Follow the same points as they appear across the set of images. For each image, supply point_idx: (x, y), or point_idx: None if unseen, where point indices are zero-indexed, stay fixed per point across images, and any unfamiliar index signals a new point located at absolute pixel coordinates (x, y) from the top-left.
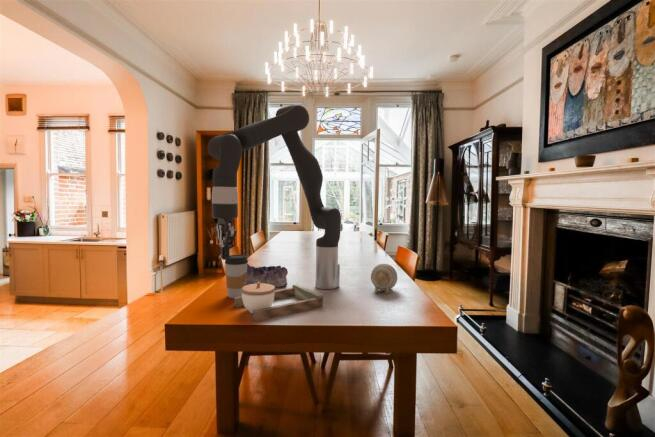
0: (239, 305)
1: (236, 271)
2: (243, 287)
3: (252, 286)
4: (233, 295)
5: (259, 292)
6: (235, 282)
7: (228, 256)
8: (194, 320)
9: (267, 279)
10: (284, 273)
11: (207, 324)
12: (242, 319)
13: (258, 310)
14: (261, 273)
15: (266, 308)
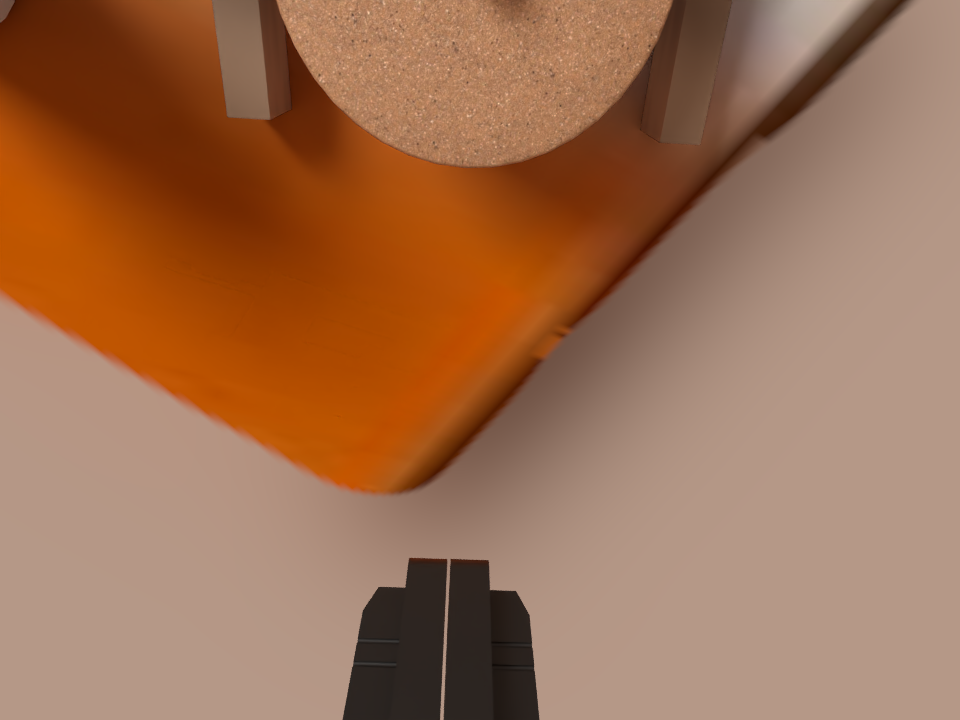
0: (285, 72)
1: None
2: (380, 120)
3: (409, 10)
4: (1, 9)
5: (651, 51)
6: None
7: (524, 615)
8: (400, 414)
9: None
10: None
11: (506, 381)
12: (571, 183)
13: (690, 102)
14: None
15: (702, 13)
